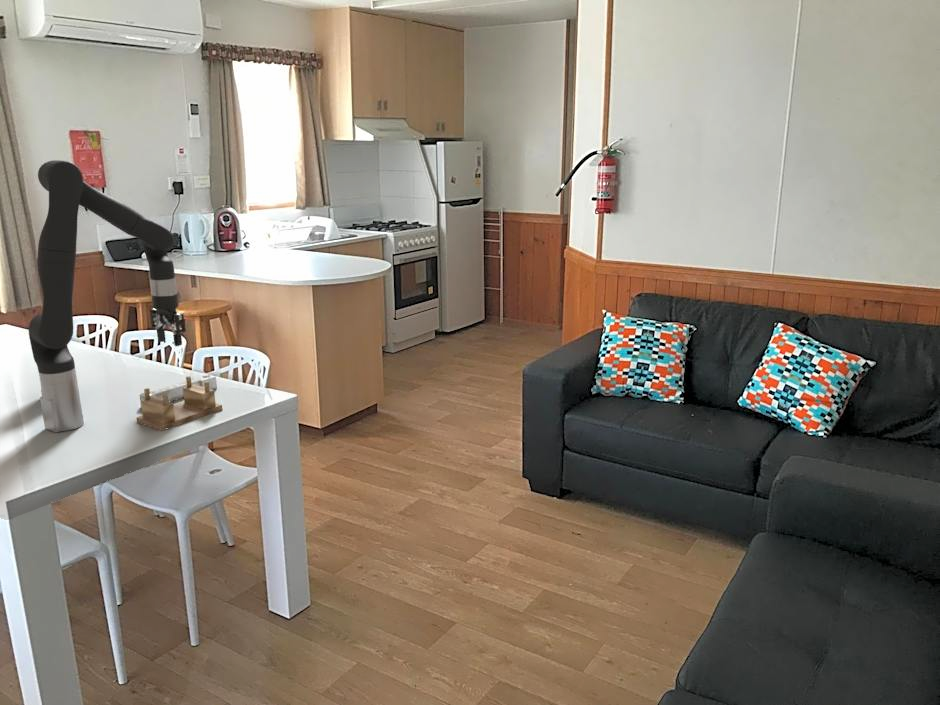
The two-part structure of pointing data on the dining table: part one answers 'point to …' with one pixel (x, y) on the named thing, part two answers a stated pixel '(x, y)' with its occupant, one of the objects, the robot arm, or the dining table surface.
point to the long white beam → (181, 388)
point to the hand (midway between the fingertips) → (170, 343)
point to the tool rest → (178, 407)
